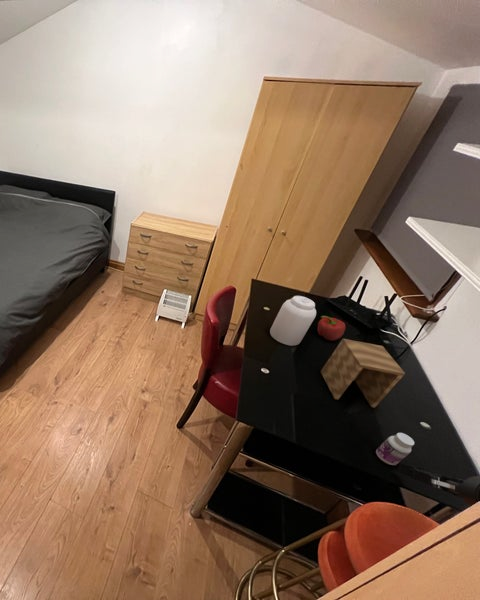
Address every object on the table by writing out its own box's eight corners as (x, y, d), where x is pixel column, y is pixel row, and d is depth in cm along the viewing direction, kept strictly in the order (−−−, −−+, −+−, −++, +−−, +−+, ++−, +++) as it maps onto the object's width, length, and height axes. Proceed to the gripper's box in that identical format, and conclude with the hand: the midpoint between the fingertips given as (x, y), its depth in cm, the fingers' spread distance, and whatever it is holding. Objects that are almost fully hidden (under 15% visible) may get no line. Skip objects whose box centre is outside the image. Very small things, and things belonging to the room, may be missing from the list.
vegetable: (313, 339, 145) (323, 321, 139) (309, 326, 153) (319, 309, 147) (341, 346, 142) (353, 329, 136) (336, 333, 150) (347, 316, 144)
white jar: (278, 325, 152) (296, 289, 141) (305, 340, 143) (327, 303, 132) (263, 333, 146) (281, 296, 135) (291, 350, 137) (312, 312, 126)
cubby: (374, 407, 114) (405, 373, 104) (334, 398, 116) (360, 364, 106) (356, 379, 125) (382, 346, 116) (320, 371, 127) (342, 338, 118)
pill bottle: (372, 446, 101) (391, 427, 95) (393, 453, 99) (413, 435, 93) (377, 460, 96) (397, 441, 91) (399, 469, 95) (420, 450, 89)
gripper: (462, 510, 69) (377, 476, 91) (536, 529, 66) (429, 489, 89) (462, 473, 70) (378, 448, 93) (534, 490, 68) (429, 460, 91)
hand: (403, 468), depth 91 cm, fingers closed
